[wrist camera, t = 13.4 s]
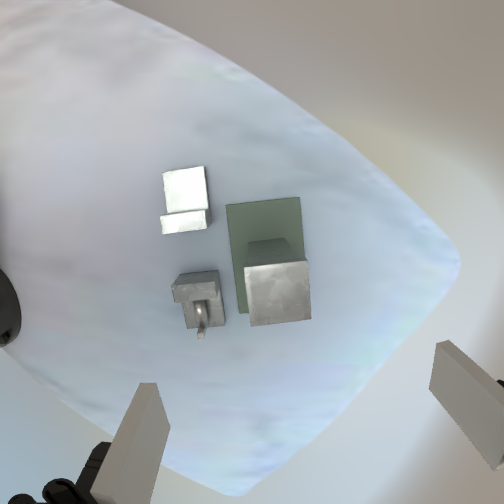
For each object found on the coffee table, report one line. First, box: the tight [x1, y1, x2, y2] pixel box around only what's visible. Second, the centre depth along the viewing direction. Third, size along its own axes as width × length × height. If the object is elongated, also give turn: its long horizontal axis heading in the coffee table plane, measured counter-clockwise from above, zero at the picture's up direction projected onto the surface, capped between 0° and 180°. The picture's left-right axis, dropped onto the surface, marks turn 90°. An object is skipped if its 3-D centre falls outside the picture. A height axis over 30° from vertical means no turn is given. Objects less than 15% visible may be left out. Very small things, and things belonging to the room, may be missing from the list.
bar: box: [244, 238, 311, 326], centre depth 34 cm, size 5×5×14 cm
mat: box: [226, 197, 305, 314], centre depth 41 cm, size 9×14×1 cm, turn 6°
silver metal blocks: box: [160, 166, 226, 339], centre depth 38 cm, size 5×20×6 cm, turn 6°
